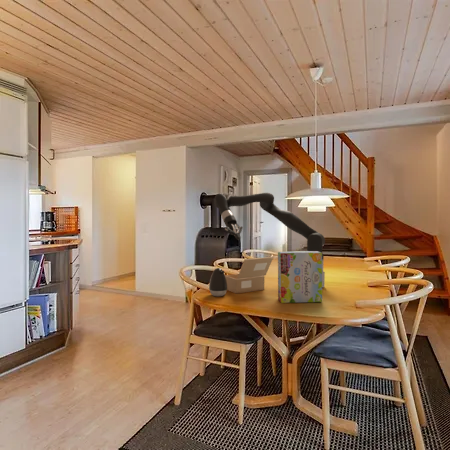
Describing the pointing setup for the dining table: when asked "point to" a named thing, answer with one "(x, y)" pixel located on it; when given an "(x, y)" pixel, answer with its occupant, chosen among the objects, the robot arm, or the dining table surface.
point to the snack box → (300, 276)
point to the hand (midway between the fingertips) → (239, 239)
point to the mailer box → (244, 283)
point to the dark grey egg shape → (218, 283)
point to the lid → (255, 267)
